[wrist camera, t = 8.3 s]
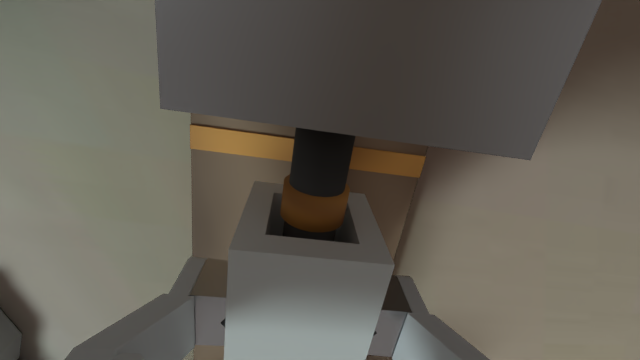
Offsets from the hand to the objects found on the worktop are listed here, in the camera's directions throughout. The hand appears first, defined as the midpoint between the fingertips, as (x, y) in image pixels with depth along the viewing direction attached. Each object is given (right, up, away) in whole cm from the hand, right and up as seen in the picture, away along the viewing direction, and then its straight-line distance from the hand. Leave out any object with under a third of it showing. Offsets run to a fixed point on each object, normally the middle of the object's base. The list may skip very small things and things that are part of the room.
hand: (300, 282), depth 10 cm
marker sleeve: (0, +1, +2) cm, 2 cm away
